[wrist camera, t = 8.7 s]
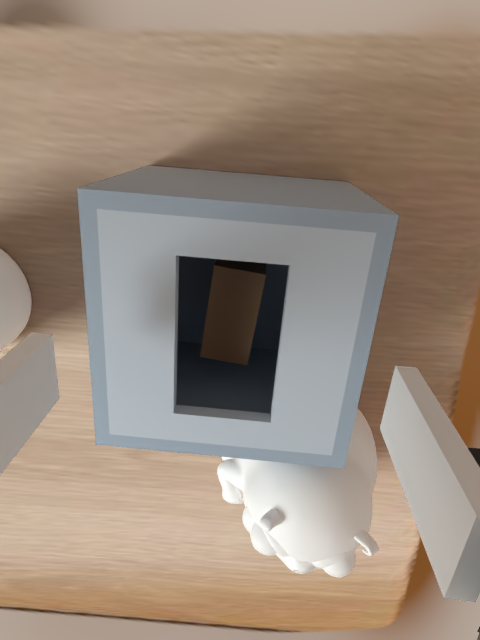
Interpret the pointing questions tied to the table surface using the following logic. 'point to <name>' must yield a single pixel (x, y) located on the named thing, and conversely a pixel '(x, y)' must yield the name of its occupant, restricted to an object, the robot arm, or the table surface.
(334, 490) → the figurine
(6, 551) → the table surface
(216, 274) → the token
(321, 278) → the coin box
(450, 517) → the robot arm
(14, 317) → the cup
